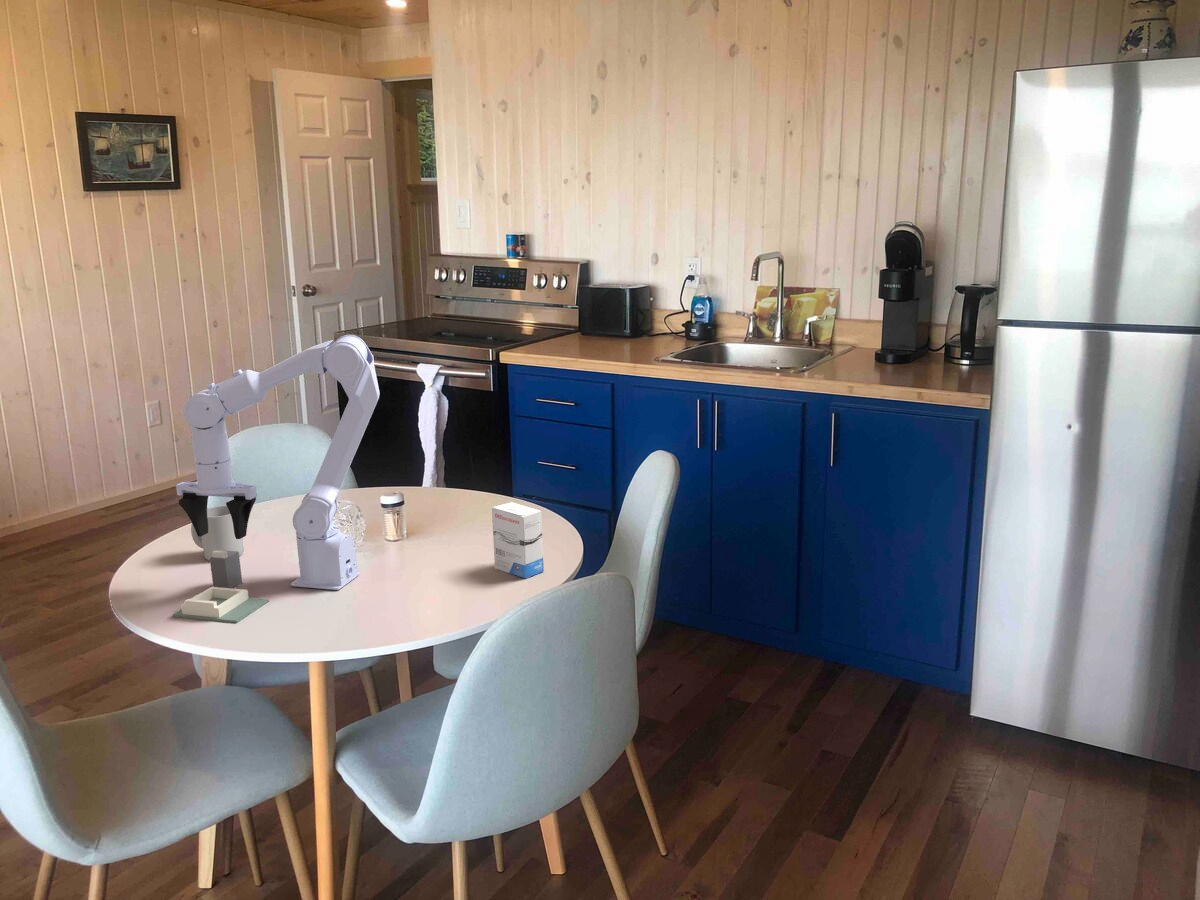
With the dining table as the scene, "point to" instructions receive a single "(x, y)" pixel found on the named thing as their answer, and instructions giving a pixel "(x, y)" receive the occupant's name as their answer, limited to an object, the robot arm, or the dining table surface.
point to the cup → (218, 533)
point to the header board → (220, 605)
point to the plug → (226, 569)
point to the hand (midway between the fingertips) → (221, 536)
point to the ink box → (518, 539)
